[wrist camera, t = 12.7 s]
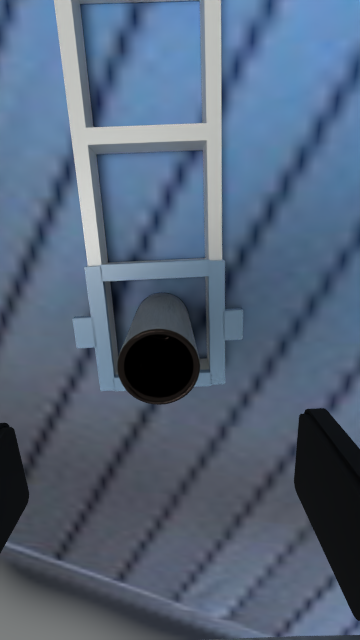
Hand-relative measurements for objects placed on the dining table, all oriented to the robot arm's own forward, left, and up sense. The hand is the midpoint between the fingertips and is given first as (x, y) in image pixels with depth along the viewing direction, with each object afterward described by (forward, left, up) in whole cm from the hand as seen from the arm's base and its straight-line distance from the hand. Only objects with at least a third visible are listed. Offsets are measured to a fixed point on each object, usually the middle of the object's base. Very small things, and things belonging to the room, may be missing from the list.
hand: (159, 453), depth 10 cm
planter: (0, 0, -17) cm, 17 cm away
